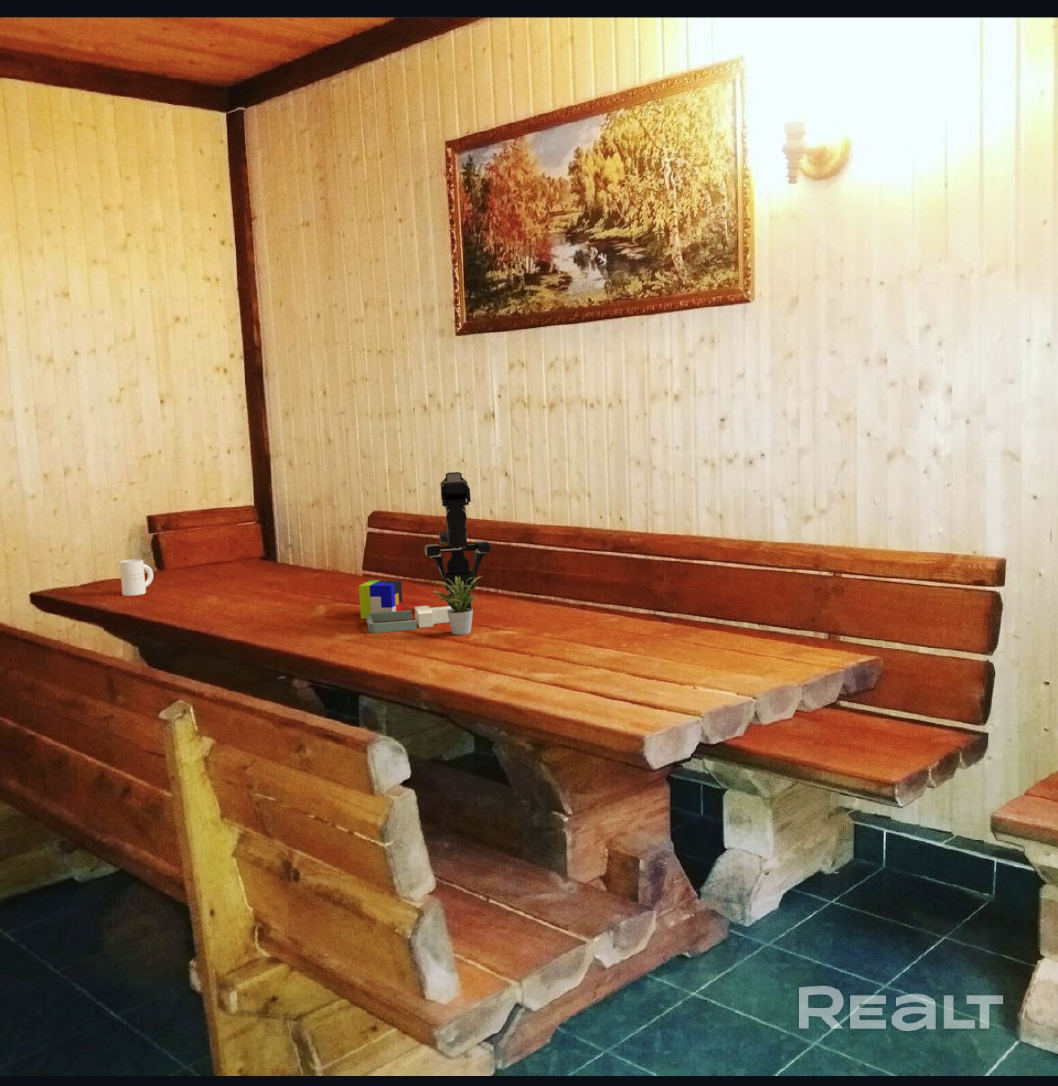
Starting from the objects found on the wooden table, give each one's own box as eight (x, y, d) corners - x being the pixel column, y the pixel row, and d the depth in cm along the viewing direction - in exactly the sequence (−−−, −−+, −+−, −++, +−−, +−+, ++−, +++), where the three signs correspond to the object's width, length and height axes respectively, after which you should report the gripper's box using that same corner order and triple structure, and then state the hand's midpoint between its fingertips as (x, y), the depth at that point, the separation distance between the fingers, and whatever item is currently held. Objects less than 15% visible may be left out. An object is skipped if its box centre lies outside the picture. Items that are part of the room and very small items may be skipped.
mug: (160, 591, 404) (157, 558, 402) (130, 596, 395) (127, 563, 393) (148, 589, 409) (145, 557, 408) (118, 594, 400) (115, 561, 399)
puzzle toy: (392, 618, 332) (390, 585, 330) (360, 618, 334) (358, 585, 333) (403, 612, 341) (401, 580, 340) (372, 612, 343) (370, 580, 342)
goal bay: (411, 618, 330) (410, 610, 330) (417, 629, 313) (416, 620, 313) (366, 622, 328) (366, 613, 327) (369, 633, 311) (369, 624, 310)
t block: (449, 617, 329) (448, 603, 329) (454, 624, 318) (453, 610, 317) (415, 620, 328) (414, 606, 327) (419, 627, 316) (418, 614, 315)
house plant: (466, 624, 317) (463, 568, 315) (499, 630, 307) (496, 571, 305) (427, 633, 307) (424, 574, 305) (460, 639, 297) (457, 579, 295)
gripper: (483, 520, 332) (485, 571, 334) (420, 524, 328) (423, 576, 330) (490, 523, 321) (492, 576, 323) (425, 527, 317) (428, 581, 319)
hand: (459, 577), depth 324 cm, fingers open, 9 cm apart
